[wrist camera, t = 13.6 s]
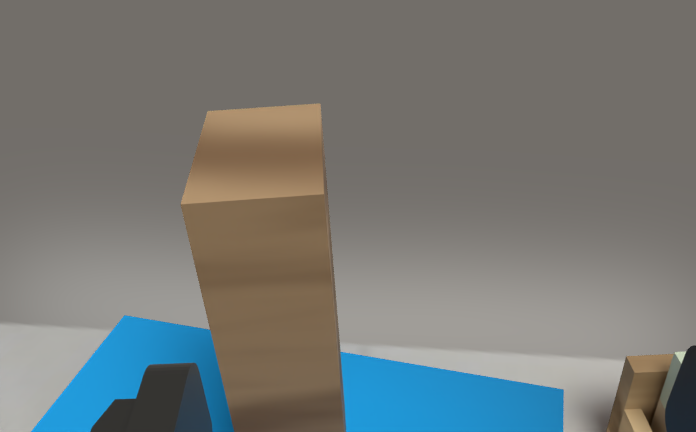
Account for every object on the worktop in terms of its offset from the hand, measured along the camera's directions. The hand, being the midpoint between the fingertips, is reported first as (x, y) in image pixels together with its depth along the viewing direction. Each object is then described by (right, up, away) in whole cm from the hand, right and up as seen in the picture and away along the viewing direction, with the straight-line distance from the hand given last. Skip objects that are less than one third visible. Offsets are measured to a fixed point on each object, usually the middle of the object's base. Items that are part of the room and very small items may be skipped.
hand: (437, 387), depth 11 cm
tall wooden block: (-3, -8, +19) cm, 21 cm away
